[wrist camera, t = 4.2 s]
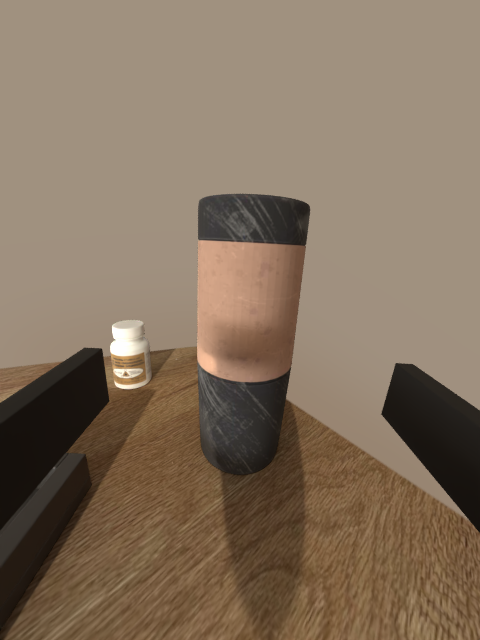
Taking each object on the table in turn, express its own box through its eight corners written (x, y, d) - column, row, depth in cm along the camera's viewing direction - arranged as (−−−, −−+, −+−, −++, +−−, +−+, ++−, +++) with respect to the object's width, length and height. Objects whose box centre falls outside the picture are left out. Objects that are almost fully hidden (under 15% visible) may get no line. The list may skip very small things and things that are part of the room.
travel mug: (295, 468, 19) (338, 202, 13) (201, 487, 18) (202, 186, 11) (263, 408, 26) (282, 215, 20) (194, 417, 25) (193, 207, 18)
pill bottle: (109, 391, 28) (101, 330, 26) (120, 372, 32) (114, 318, 30) (148, 389, 29) (143, 330, 26) (154, 371, 33) (150, 318, 30)
